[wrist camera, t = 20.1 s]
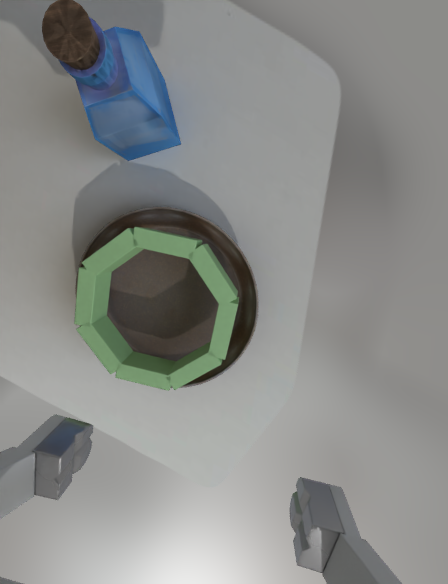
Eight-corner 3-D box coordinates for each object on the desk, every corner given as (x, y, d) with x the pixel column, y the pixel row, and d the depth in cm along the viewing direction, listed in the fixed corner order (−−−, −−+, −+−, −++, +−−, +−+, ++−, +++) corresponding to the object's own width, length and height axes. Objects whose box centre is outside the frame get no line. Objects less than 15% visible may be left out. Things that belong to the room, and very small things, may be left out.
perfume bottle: (164, 80, 26) (96, -53, 14) (180, 144, 27) (130, 71, 15) (109, 99, 26) (2, -10, 15) (128, 160, 28) (41, 104, 16)
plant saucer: (175, 403, 34) (168, 421, 30) (60, 294, 32) (38, 301, 29) (293, 302, 29) (299, 310, 26) (167, 169, 27) (157, 160, 24)
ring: (249, 250, 25) (250, 252, 22) (218, 385, 29) (215, 402, 26) (101, 217, 26) (82, 215, 23) (87, 354, 29) (70, 366, 26)
